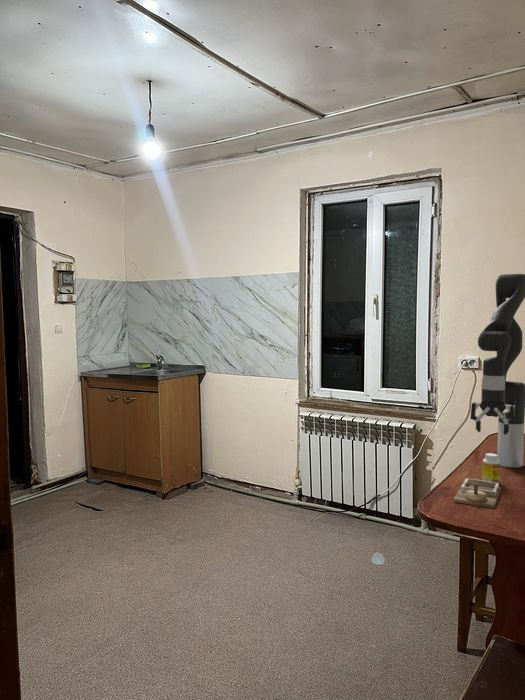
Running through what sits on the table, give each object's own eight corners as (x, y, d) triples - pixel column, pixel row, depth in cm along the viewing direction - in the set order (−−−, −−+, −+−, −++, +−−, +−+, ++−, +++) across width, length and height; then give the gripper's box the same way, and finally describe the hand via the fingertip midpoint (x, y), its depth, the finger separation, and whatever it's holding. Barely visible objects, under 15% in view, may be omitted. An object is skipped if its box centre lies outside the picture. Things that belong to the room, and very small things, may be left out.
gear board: (464, 484, 185) (464, 469, 185) (501, 490, 179) (501, 474, 179) (453, 501, 169) (454, 485, 169) (494, 508, 163) (494, 491, 163)
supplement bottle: (493, 486, 183) (494, 457, 183) (479, 481, 188) (479, 454, 187) (502, 483, 186) (503, 455, 186) (488, 479, 191) (489, 451, 190)
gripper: (516, 387, 184) (515, 433, 185) (473, 385, 192) (472, 428, 193) (514, 390, 178) (513, 437, 179) (470, 387, 185) (468, 432, 186)
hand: (491, 433), depth 186 cm, fingers open, 8 cm apart
